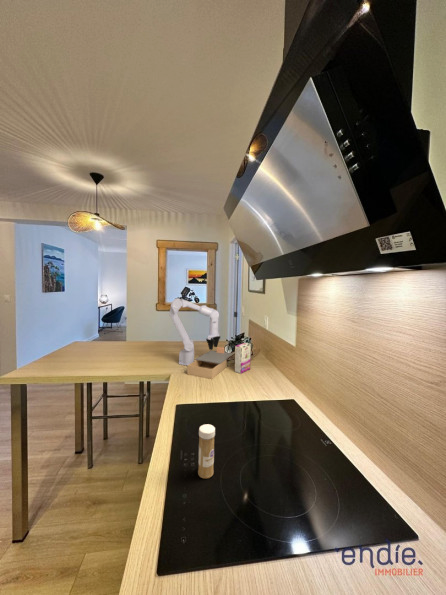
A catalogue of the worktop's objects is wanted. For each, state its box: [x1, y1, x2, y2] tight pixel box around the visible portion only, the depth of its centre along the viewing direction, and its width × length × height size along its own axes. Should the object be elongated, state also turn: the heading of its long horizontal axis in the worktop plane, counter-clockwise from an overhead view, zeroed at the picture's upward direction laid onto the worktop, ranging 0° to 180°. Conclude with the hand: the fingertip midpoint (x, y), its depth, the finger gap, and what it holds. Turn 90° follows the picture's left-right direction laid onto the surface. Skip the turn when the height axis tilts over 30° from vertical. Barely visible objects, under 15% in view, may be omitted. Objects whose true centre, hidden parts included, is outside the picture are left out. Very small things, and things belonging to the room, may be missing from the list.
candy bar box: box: [234, 342, 252, 375], centre depth 157 cm, size 11×5×16 cm, turn 143°
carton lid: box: [194, 346, 234, 364], centre depth 164 cm, size 17×23×4 cm
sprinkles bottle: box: [197, 423, 216, 479], centre depth 72 cm, size 5×5×13 cm
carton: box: [186, 358, 228, 380], centre depth 155 cm, size 16×22×6 cm
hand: (213, 348), depth 169 cm, fingers open, 7 cm apart
